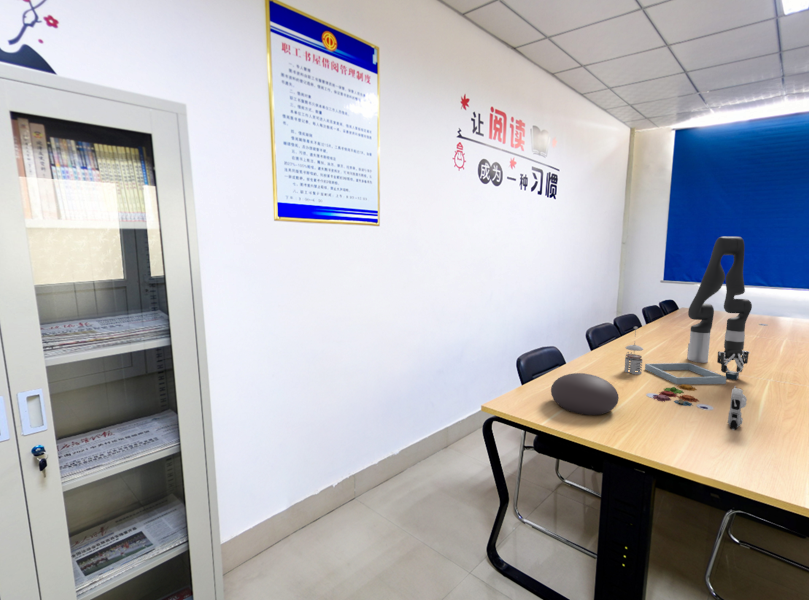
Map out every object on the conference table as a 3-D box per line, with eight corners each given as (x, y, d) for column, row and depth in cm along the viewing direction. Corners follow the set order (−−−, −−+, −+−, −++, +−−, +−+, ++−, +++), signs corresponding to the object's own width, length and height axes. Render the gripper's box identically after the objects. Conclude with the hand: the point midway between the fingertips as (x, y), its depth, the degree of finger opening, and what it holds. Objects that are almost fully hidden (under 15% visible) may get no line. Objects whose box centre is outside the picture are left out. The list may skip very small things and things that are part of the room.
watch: (741, 382, 200) (743, 359, 199) (720, 378, 206) (722, 356, 205) (743, 379, 204) (745, 357, 203) (723, 375, 210) (724, 354, 208)
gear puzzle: (671, 386, 197) (671, 377, 197) (712, 394, 186) (713, 385, 185) (649, 403, 176) (649, 393, 176) (694, 414, 165) (694, 404, 164)
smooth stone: (591, 398, 181) (593, 364, 179) (632, 421, 156) (634, 383, 155) (539, 402, 177) (540, 368, 175) (572, 427, 152) (574, 387, 150)
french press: (647, 374, 213) (650, 326, 210) (635, 379, 206) (638, 329, 203) (628, 370, 221) (631, 323, 218) (616, 374, 214) (619, 326, 211)
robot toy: (742, 437, 143) (747, 395, 141) (726, 433, 146) (730, 392, 144) (744, 425, 152) (748, 386, 150) (728, 422, 155) (732, 383, 153)
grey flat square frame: (644, 371, 219) (645, 363, 219) (688, 370, 220) (689, 362, 220) (676, 386, 195) (676, 378, 195) (725, 385, 196) (726, 376, 196)
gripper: (742, 337, 207) (738, 369, 209) (714, 338, 207) (711, 370, 209) (755, 340, 200) (752, 374, 202) (726, 341, 199) (723, 374, 201)
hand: (731, 372), depth 205 cm, fingers open, 7 cm apart
